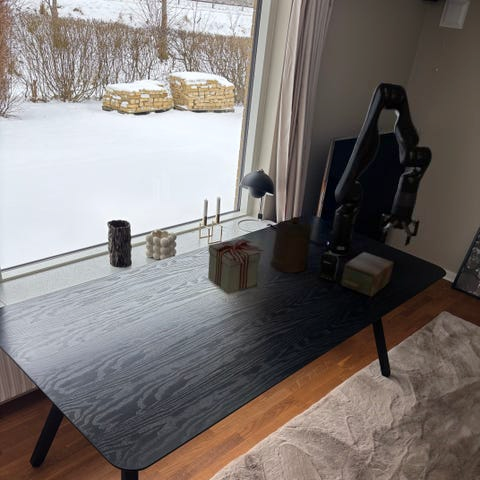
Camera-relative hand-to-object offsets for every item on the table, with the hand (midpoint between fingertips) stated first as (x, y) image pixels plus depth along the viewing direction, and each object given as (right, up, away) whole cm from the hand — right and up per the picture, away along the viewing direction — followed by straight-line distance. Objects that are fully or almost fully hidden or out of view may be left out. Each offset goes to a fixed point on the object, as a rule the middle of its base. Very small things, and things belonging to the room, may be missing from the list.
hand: (394, 243), depth 187 cm
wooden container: (-38, -6, +26) cm, 47 cm away
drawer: (-11, -16, +11) cm, 22 cm away
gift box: (-62, -15, +9) cm, 64 cm away
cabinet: (-7, -15, +15) cm, 23 cm away
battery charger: (-24, -13, +17) cm, 32 cm away
